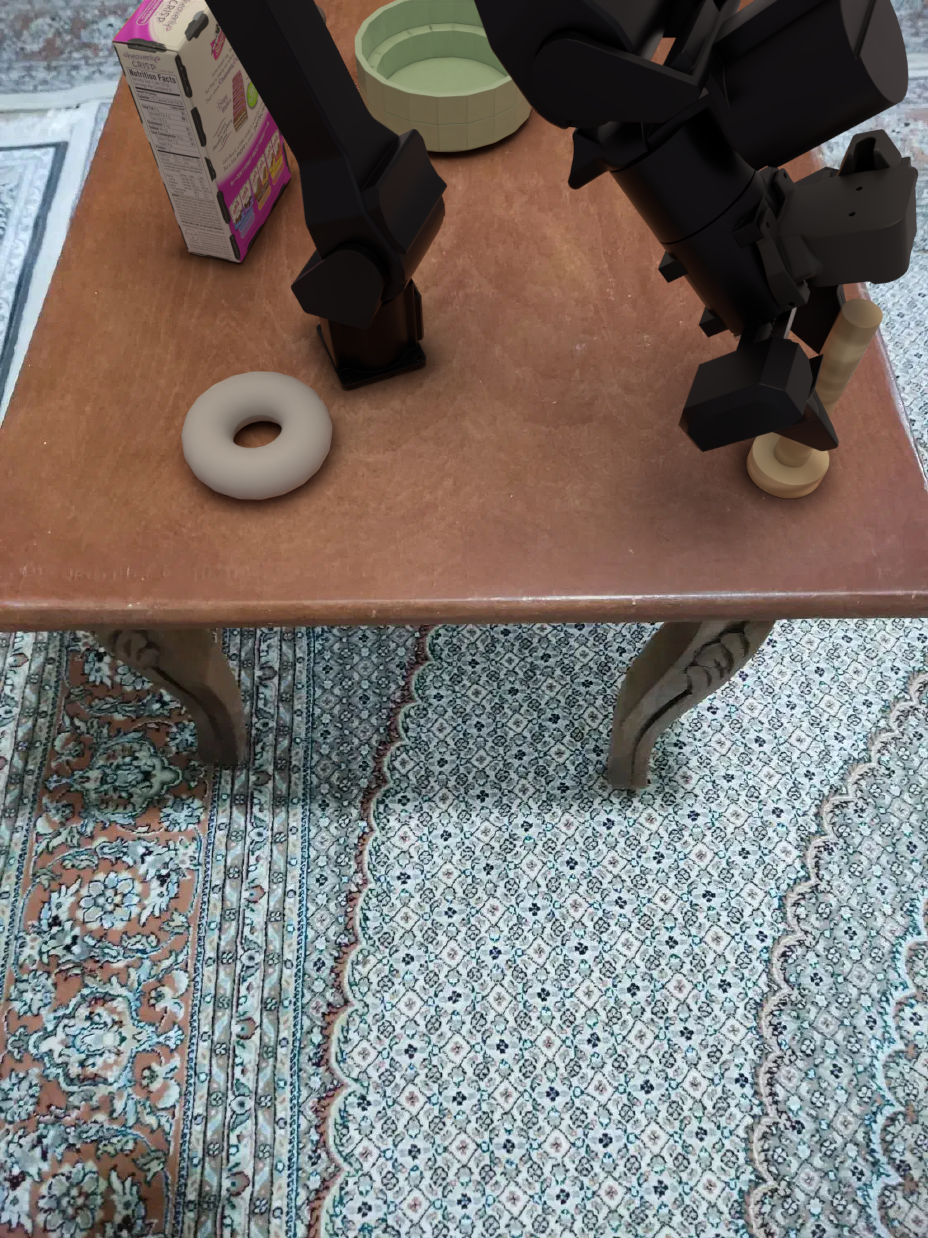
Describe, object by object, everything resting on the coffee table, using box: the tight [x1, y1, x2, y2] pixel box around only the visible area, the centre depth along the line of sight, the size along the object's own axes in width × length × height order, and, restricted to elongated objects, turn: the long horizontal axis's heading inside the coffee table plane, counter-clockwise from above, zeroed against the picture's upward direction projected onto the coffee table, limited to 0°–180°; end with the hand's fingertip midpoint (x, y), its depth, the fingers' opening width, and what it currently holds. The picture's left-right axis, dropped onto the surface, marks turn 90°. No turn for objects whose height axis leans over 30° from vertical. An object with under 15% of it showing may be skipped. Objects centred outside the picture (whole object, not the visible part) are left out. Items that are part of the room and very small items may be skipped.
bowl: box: [354, 0, 533, 153], centre depth 76 cm, size 15×15×6 cm
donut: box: [180, 370, 333, 501], centre depth 59 cm, size 10×4×10 cm
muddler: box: [746, 297, 884, 499], centre depth 53 cm, size 5×5×14 cm
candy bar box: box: [111, 0, 292, 264], centre depth 65 cm, size 11×5×16 cm, turn 164°
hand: (840, 406), depth 53 cm, fingers open, 6 cm apart
